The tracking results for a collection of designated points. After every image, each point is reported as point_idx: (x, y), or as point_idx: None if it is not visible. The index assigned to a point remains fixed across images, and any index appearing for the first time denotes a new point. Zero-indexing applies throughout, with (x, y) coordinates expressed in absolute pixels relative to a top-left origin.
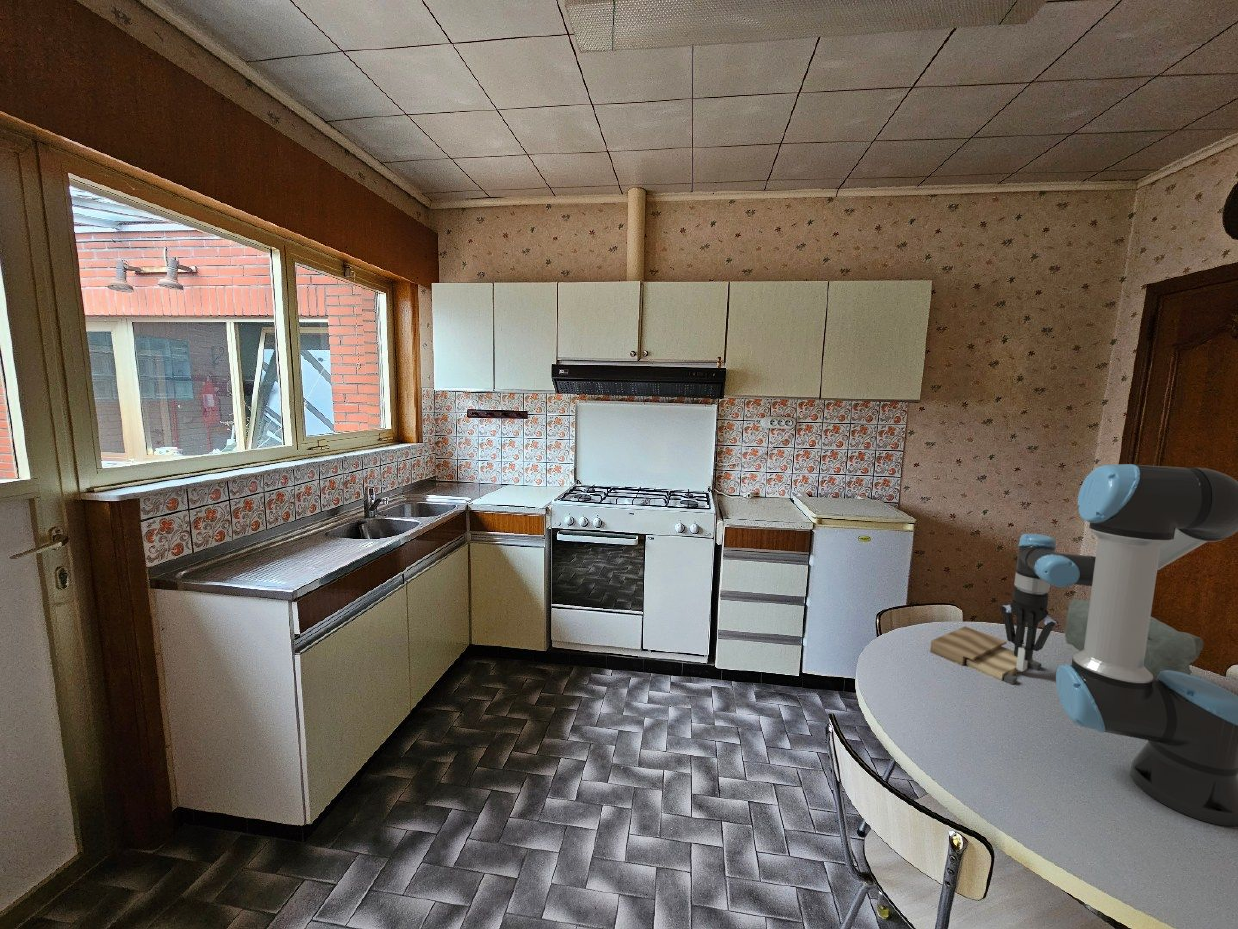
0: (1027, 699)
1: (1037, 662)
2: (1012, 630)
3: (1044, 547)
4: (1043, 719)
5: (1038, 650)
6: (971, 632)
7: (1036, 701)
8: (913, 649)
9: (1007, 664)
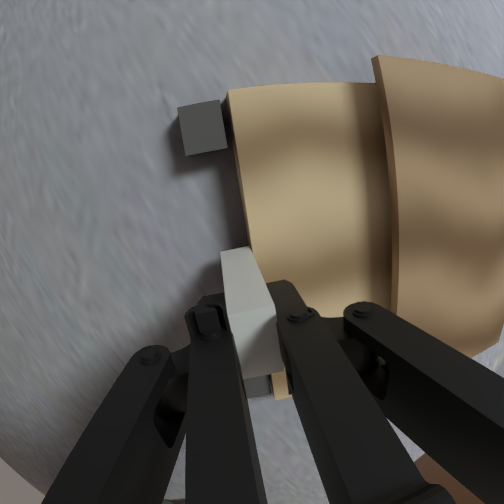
0: (82, 65)
1: (251, 392)
2: (401, 392)
3: None
4: (8, 19)
5: (135, 358)
6: (482, 324)
7: (60, 89)
8: (492, 58)
9: (288, 233)
